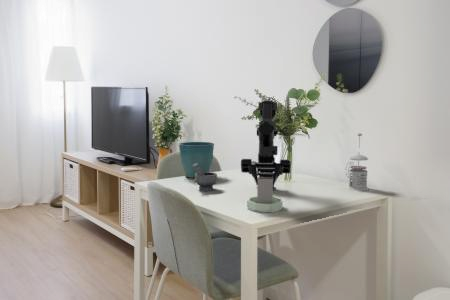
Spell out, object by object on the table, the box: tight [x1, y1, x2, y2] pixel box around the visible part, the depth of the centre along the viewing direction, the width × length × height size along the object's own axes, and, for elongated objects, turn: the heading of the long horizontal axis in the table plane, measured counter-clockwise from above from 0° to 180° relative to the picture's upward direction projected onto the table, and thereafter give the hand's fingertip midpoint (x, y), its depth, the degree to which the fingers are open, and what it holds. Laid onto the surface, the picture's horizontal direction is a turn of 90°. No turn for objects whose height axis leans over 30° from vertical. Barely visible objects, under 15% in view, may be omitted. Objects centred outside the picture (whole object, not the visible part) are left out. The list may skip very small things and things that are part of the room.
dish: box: [246, 195, 284, 213], centre depth 171 cm, size 13×13×3 cm
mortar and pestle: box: [193, 163, 218, 192], centre depth 202 cm, size 11×9×12 cm
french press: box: [345, 132, 369, 192], centre depth 204 cm, size 10×12×25 cm
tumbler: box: [256, 176, 274, 204], centre depth 170 cm, size 6×6×10 cm
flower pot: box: [178, 141, 215, 179], centre depth 233 cm, size 18×18×17 cm
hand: (265, 184), depth 169 cm, fingers closed on tumbler, 6 cm apart
